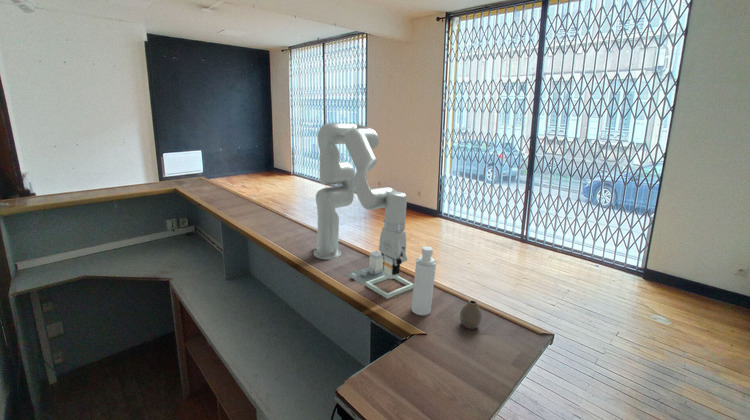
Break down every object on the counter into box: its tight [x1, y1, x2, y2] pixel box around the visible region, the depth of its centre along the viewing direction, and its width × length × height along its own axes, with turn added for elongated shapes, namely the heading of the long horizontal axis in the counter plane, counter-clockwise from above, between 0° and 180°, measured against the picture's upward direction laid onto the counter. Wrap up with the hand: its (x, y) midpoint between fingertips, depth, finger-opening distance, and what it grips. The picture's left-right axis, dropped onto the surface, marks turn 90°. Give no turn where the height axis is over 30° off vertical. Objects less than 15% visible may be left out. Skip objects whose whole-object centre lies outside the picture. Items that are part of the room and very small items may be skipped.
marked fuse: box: [383, 255, 400, 280], centre depth 141 cm, size 4×4×8 cm
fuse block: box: [345, 266, 384, 285], centre depth 152 cm, size 10×15×4 cm, turn 132°
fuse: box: [368, 250, 384, 274], centre depth 154 cm, size 4×4×8 cm
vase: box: [459, 299, 483, 330], centre depth 123 cm, size 7×7×9 cm
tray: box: [365, 275, 414, 301], centre depth 143 cm, size 12×14×3 cm
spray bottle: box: [411, 245, 437, 316], centre depth 128 cm, size 7×7×25 cm
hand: (391, 271), depth 141 cm, fingers closed on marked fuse, 4 cm apart
